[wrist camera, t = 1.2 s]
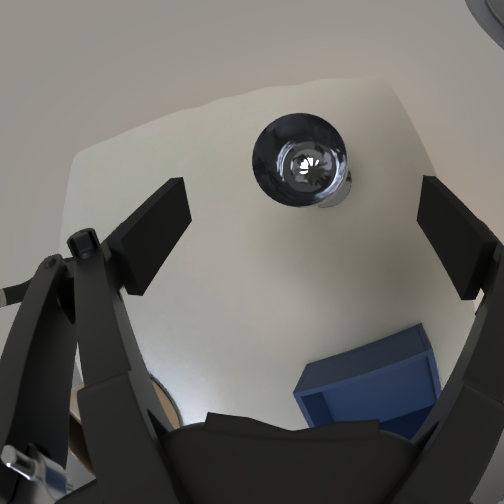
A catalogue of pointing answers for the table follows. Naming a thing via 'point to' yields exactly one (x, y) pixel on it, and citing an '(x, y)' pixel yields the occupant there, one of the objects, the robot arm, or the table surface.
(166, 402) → the planter
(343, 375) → the bin
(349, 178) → the wine glass
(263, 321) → the table surface
